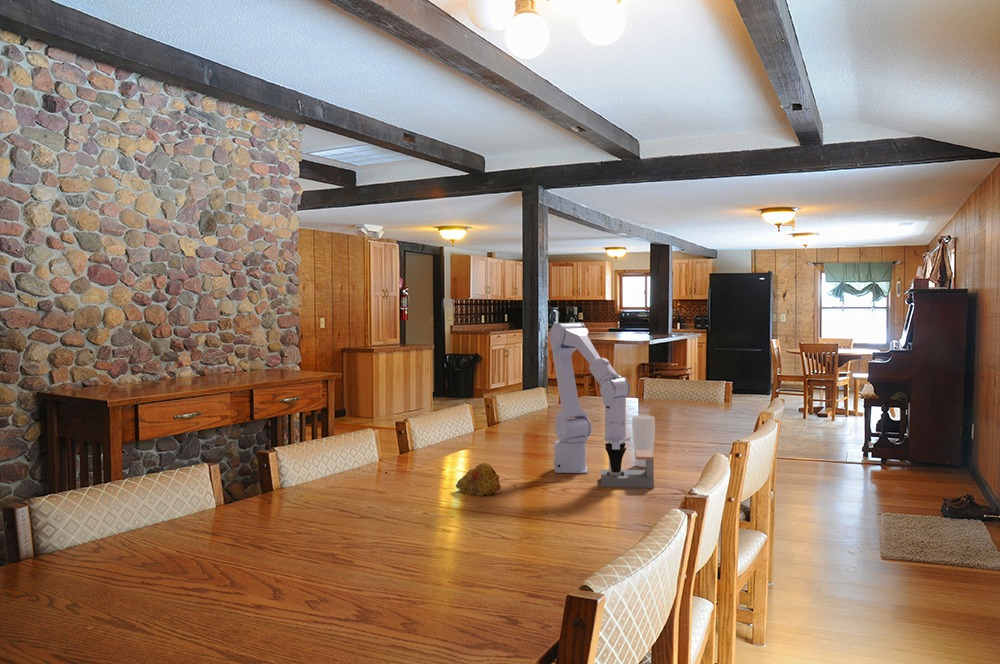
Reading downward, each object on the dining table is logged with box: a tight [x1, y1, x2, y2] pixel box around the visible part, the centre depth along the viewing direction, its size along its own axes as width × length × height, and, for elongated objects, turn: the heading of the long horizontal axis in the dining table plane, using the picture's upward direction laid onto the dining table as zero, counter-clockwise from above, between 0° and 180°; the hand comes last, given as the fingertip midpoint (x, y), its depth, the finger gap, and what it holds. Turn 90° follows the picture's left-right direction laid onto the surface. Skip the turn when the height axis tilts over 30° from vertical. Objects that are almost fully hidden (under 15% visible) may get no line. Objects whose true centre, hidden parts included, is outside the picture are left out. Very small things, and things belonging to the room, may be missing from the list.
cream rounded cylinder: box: [631, 415, 656, 468], centre depth 221 cm, size 7×7×15 cm
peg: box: [608, 458, 622, 476], centre depth 201 cm, size 3×3×8 cm
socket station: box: [600, 450, 655, 489], centre depth 200 cm, size 14×10×8 cm
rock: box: [455, 462, 502, 497], centre depth 193 cm, size 11×8×10 cm
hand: (615, 470), depth 201 cm, fingers closed on peg, 3 cm apart
